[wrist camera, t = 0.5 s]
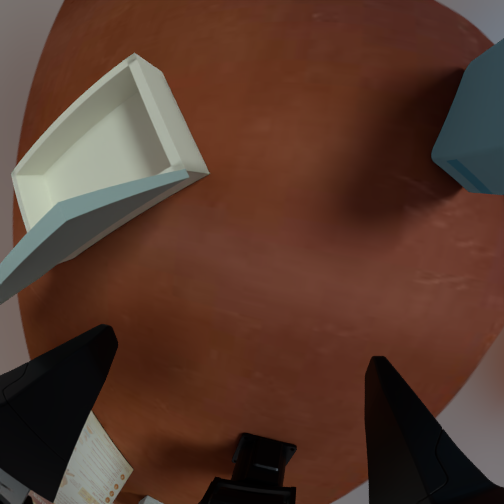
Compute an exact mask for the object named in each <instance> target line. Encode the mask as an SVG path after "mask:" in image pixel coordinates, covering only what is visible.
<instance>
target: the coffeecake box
mask: <svg viewBox="0 0 504 504" xmlns="http://www.w3.org/2000/svg"><path fill="white" fill-rule="evenodd" d="M132 471H133V468H132V467H131V466H130V465H129V463H128V462H127V461H126V460H125V458H124V457H123V456H122V454H121V453H120V452H119V450H118V449H117V448H116V446H115V445H114V444H113V442H112V441H111V439H110V438H109V436H108V435H107V434H106V432H105V431H104V429H103V428H102V426H101V425H100V423H99V422H98V420H97V418H96V417H95V415H94V414H93V412H92V410H91V412H90V414H89V416H88V418H87V421H86V423H85V425H84V427H83V430H82V432H81V434H80V437H79V439H78V441H77V444H76V446H75V448H74V451H73V453H72V456H71V458H70V460H69V463H68V466H67V468H66V471H65V473H64V476H63V479H62V481H61V484H60V487H59V489H58V492H57V495H56V498H55V500H54V502H53V503H51V502H50V501H48V500H46V499H45V498H43V497H41V496H40V495H38V494H36V493H35V492H33V491H32V490H30V492H29V494H28V495H30V496H31V497H32V500H33V504H112V503H113V501H114V500H115V498H116V496H117V495H118V493H119V492H120V490H121V489H122V487H123V486H124V484H125V482H126V481H127V479H128V478H129V476H130V475H131V473H132Z"/></svg>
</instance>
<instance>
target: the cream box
mask: <svg viewBox="0 0 504 504" xmlns="http://www.w3.org/2000/svg"><path fill="white" fill-rule="evenodd" d="M183 169H186V171H187V173H188V175H189V178H187V179H186V180H184V181H182V182H180V183H179V184H177V185H175V186H173V187H172V188H170V189H168V190H167V191H165V192H163V193H162V194H160V195H158V196H157V197H155V198H153V199H152V200H150V201H148V202H147V203H145V204H144V205H142V206H140V207H139V208H137V209H136V210H134V211H133V212H131V213H129V214H128V215H126V216H125V217H123V218H122V219H120V220H119V221H117V222H116V223H114V224H113V225H111V226H110V227H108V228H107V229H105V230H104V231H102V232H101V233H99V234H98V235H97V236H95V237H94V238H92V239H91V240H89V241H88V242H87V243H85V244H84V245H82V246H81V247H80V248H78V249H77V250H76V251H74V252H73V253H71V254H70V255H69V256H67V257H66V258H65V259H63V260H62V261H61V262H59V263H62V262H65V261H68V260H70V259H73V258H75V257H76V256H77V255H79V254H80V253H82V252H83V251H84V250H86V249H87V248H89V247H90V246H92V245H93V244H95V243H96V242H98V241H99V240H101V239H102V238H103V237H105V236H106V235H108V234H110V233H111V232H113V231H114V230H116V229H117V228H119V227H120V226H122V225H123V224H125V223H126V222H128V221H130V220H131V219H133V218H134V217H136V216H138V215H139V214H141V213H142V212H144V211H146V210H147V209H149V208H151V207H152V206H154V205H156V204H157V203H159V202H161V201H162V200H164V199H166V198H167V197H169V196H171V195H173V194H174V193H176V192H178V191H180V190H181V189H183V188H185V187H187V186H188V185H190V184H192V183H194V182H196V181H197V180H199V179H201V178H203V177H205V176H207V175H209V174H210V173H209V171H208V169H207V167H206V165H205V163H204V160H203V158H202V156H201V154H200V152H199V150H198V148H197V146H196V143H195V141H194V139H193V137H192V135H191V133H190V131H189V129H188V126H187V124H186V122H185V120H184V118H183V116H182V114H181V111H180V109H179V107H178V105H177V103H176V101H175V99H174V96H173V94H172V92H171V90H170V88H169V86H168V84H167V82H166V79H165V77H164V75H163V73H162V72H161V71H160V70H158V69H157V68H155V67H154V66H153V65H151V64H150V63H148V62H147V61H146V60H144V59H143V58H141V57H140V56H138V55H137V54H135V53H133V54H132V55H131V56H129V57H128V58H126V59H125V60H124V61H122V62H121V63H120V64H118V65H117V66H116V67H115V68H113V69H112V70H111V71H109V72H108V73H107V74H106V75H105V76H103V77H102V78H101V79H100V80H98V81H97V82H96V83H95V84H94V85H93V86H91V87H90V88H89V89H88V90H87V91H86V92H85V93H84V94H82V95H81V96H80V97H79V98H78V99H77V100H76V101H75V102H74V103H73V104H72V105H71V106H70V107H69V108H68V109H67V110H66V111H65V112H64V113H63V114H62V115H61V116H60V117H59V118H58V119H57V120H56V121H55V122H54V123H53V124H52V125H51V126H50V127H49V128H48V129H47V130H46V131H45V133H44V134H43V135H42V136H41V137H40V138H39V139H38V140H37V142H36V143H35V144H34V145H33V146H32V147H31V149H30V150H29V151H28V152H27V154H26V155H25V156H24V157H23V158H22V160H21V161H20V162H19V164H18V165H17V166H16V167H15V169H14V170H13V172H12V173H11V176H12V180H13V184H14V189H15V193H16V196H17V200H18V204H19V207H20V211H21V214H22V217H23V221H24V224H25V227H26V230H27V233H28V232H29V231H30V230H31V229H32V228H33V227H34V226H35V225H36V224H37V222H38V221H39V220H40V219H41V218H42V217H43V216H44V215H45V214H46V213H47V212H48V211H50V210H51V209H52V208H53V207H54V206H55V205H56V204H57V203H58V202H61V201H64V200H67V199H70V198H73V197H77V196H80V195H83V194H86V193H90V192H93V191H97V190H100V189H104V188H107V187H111V186H115V185H119V184H122V183H126V182H130V181H134V180H138V179H142V178H146V177H151V176H155V175H159V174H164V173H168V172H173V171H178V170H183ZM59 263H58V264H59Z"/></svg>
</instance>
